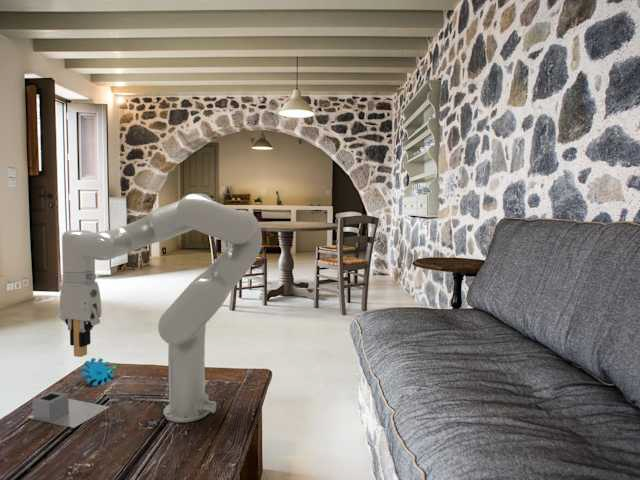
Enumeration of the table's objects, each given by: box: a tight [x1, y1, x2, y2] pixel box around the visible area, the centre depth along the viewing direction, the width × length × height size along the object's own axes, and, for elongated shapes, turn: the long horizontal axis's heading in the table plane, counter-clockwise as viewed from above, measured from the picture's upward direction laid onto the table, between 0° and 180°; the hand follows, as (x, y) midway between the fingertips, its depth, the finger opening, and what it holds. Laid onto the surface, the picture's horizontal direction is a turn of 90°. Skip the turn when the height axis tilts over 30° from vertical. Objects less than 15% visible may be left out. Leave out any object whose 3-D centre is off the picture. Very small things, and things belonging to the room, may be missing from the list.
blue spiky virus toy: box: [80, 357, 117, 387], centre depth 142 cm, size 11×6×10 cm
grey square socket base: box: [26, 390, 110, 429], centre depth 121 cm, size 16×12×6 cm
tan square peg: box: [73, 320, 88, 358], centre depth 120 cm, size 2×2×10 cm
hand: (80, 344), depth 120 cm, fingers closed on tan square peg, 2 cm apart
